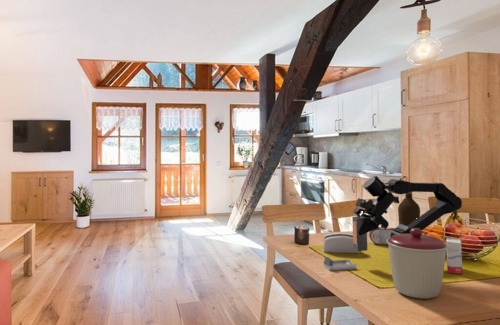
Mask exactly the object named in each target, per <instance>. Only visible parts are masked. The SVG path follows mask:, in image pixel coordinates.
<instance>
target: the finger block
mask: <svg viewBox="0 0 500 325" xmlns="http://www.w3.org/2000/svg"><path fill="white" fill-rule="evenodd" d="M351 221H352V222H351V223H352V224H351V225H352V235H353V249H355V250H357V251H360V252H365V251H368V233H365V234H363V235H361V236H360V235H359V234H358V233H359V232H360V230H361V229H362V227H363V226H364V224H365V223H366V217H363V216H357V215H356V216H352V220H351Z"/></svg>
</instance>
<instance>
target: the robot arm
mask: <svg viewBox="0 0 500 325" xmlns="http://www.w3.org/2000/svg"><path fill="white" fill-rule="evenodd" d="M362 188H364V190H366V191H367V192H368V194H370V196H372V197H373V198H375V197H376V198H375V200H372V199H370V198H366V199H363V198H359V197H358V198H357V199H356V202H355V206H356V207H355V208H354V210H352V211H353V212H352V213H354V214H355V215H356V216H363V217H366V223H365V224H364V226H363V227H362V229H361V230H360V232H359V233H358V234H359V235H360V236H361V235H363V234H365V233H367V234H368V233H370V231H372V230H375V229H379V227H382V228H384V229H386V228H389V222H390V221H388V220H387V219H386V218H385V217H384V216H383V215H384V214H387V213H388V208H389V207H390V206H391V205H392V204H398V205H399V204H400V198H399V196H396V195H405V194H407V193H410V192H412V193H414V192H415V193H433V195H434V197H435V198H436V201H435V202H434V203H435V204H434V206H432V207H431V208H429V209H428V210H427V211H425V212H424V213H423V214H420V217H419V218H417V219H416V220H415V221H413V222H412V223H410V224H409V225H407V226H405V225H403V224H400V225H399V224H398V226H396V227H393V228H394V229H393V231H392V232H391V236H393V235H397V234H410V230H411V229H412V228H419V229H421V230H422V231H423V230H425V229H426V228H428V227H429V226H430V225H432V224H434V223H435V222H436V221H438V220H439V219H440V218H441V217H443V216H444V215H448V214H452V213H454V212H457V211H458V210H460V209H461V208H462V206H463V205H462V204H463V200H462V199H461V198H460V196H458V195H457V194H455V193H454V192H453V191H452V190H451V189H450V188H448V187H447V186H446V185H445V184H444V183H441V182H411V181H406V180H402V179H393V178H392V179H389V180H388V182H384V183H383V181H382V180H381V179H380V178H379V177H378V176H377V175H373V176H372V177H370V178H369V179H366V180H365V181H364V183H363V185H362ZM394 194H396V195H394Z"/></svg>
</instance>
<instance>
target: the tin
mask: <svg viewBox="0 0 500 325" xmlns="http://www.w3.org/2000/svg"><path fill="white" fill-rule="evenodd" d="M378 227H379V229H375V230H372V231H370V232H368V233H369V235H368V236H369V238H370V239H369V240H370V241H371V242H372V243H373V244H375V245H378V246H379V245H382V246H389V245H388V243H387V242H386V240H387V239H388V238H390V237H391V232H392V231H393V229H394V228H395V227H387V228H386V229H384V228H382V227H381V226H378Z"/></svg>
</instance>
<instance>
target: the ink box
mask: <svg viewBox="0 0 500 325" xmlns="http://www.w3.org/2000/svg"><path fill="white" fill-rule="evenodd" d="M461 240H462V239H461V238H459V237H458V238H457V237H446V242H445V243H447V244H448V246H449V247H448V249H446V269H447V273H448V274H456V275H457V274H458V275H463V259H462V258H463V257H462V254H463V252H462V241H461Z"/></svg>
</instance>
